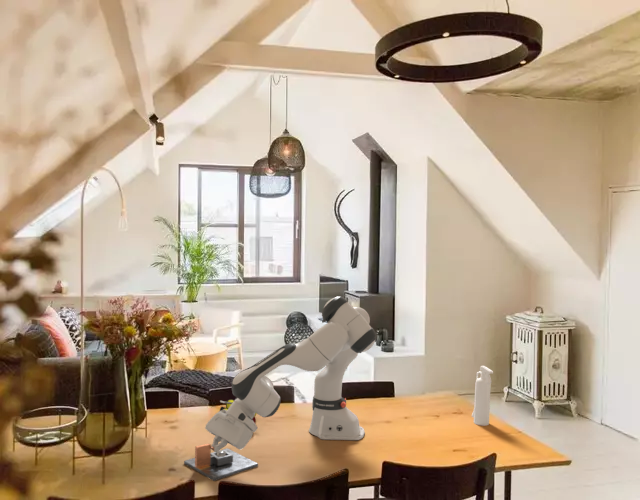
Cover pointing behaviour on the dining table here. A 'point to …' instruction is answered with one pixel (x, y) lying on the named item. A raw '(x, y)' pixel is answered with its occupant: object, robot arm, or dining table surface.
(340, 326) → the robot arm
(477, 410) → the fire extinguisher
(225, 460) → the copper and grey fixture
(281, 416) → the dining table surface
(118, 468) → the dining table surface
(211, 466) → the mount plate
